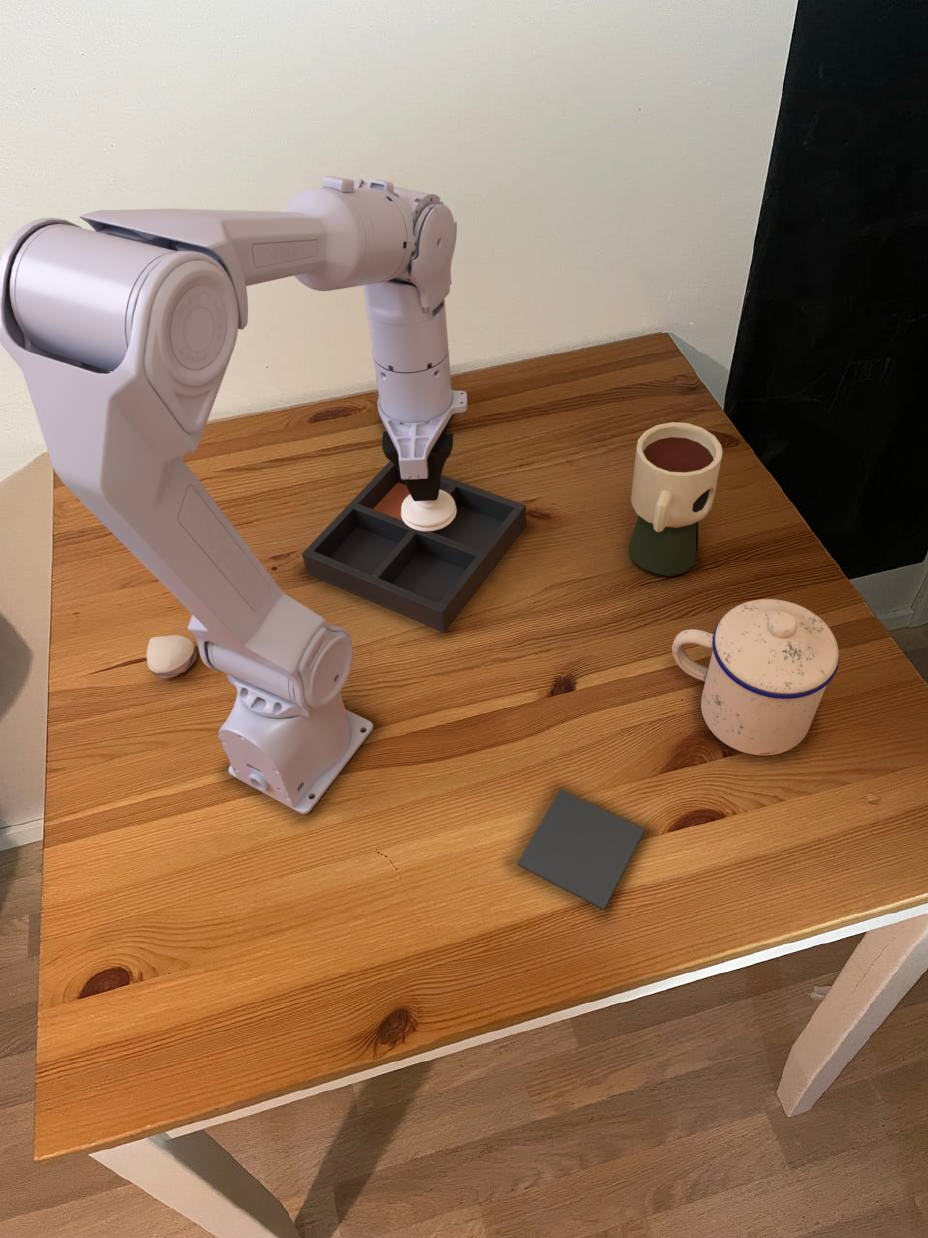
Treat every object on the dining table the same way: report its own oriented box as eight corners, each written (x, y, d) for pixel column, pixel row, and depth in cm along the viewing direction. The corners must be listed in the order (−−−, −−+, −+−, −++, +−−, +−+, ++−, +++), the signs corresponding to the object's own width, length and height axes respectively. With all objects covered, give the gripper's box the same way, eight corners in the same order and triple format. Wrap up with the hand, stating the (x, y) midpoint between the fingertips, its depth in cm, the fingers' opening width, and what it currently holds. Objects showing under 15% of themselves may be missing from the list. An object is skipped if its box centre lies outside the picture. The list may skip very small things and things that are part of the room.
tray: (444, 632, 82) (442, 612, 80) (307, 573, 88) (301, 553, 86) (526, 526, 91) (526, 504, 88) (395, 478, 96) (392, 457, 94)
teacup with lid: (824, 689, 76) (862, 596, 67) (797, 777, 71) (834, 688, 62) (683, 643, 80) (701, 549, 71) (647, 723, 75) (663, 632, 66)
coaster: (604, 910, 65) (604, 908, 65) (517, 865, 68) (517, 863, 67) (644, 831, 69) (645, 829, 69) (560, 791, 71) (560, 789, 71)
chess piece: (459, 493, 83) (452, 402, 75) (453, 532, 80) (445, 441, 72) (405, 492, 84) (392, 401, 76) (397, 530, 80) (383, 440, 73)
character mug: (686, 606, 83) (708, 499, 73) (609, 587, 85) (620, 480, 75) (712, 526, 89) (735, 417, 79) (640, 510, 91) (653, 401, 81)
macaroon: (168, 691, 80) (159, 673, 78) (135, 661, 82) (126, 644, 80) (208, 661, 82) (200, 643, 80) (175, 633, 84) (166, 615, 82)
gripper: (463, 408, 64) (472, 546, 75) (464, 297, 74) (472, 433, 84) (362, 412, 65) (385, 549, 75) (376, 301, 74) (395, 436, 84)
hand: (425, 488), depth 80 cm, fingers closed on chess piece
